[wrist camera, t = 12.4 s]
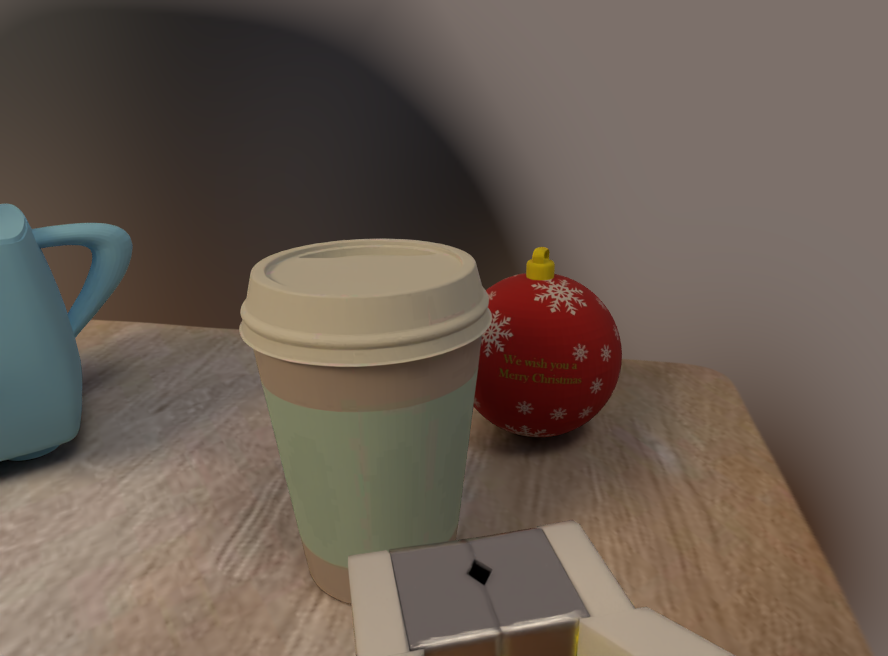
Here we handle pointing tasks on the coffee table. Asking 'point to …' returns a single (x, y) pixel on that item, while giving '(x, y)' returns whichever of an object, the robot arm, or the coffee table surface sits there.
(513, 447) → the coffee table surface
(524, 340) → the christmas ornament
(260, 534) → the coffee table surface
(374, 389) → the coffee cup
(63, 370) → the teapot
